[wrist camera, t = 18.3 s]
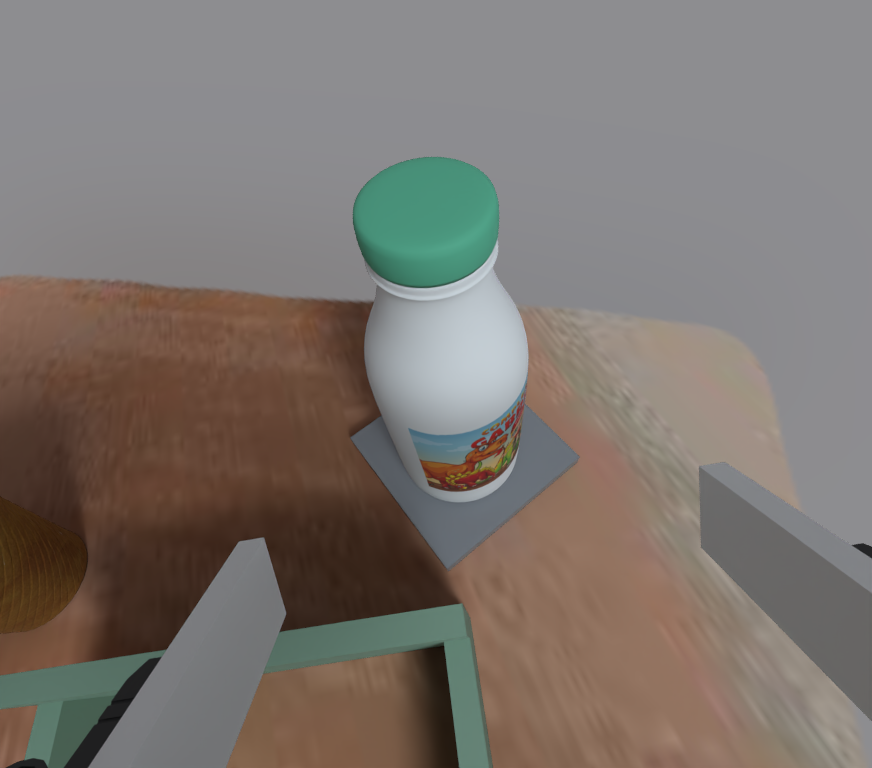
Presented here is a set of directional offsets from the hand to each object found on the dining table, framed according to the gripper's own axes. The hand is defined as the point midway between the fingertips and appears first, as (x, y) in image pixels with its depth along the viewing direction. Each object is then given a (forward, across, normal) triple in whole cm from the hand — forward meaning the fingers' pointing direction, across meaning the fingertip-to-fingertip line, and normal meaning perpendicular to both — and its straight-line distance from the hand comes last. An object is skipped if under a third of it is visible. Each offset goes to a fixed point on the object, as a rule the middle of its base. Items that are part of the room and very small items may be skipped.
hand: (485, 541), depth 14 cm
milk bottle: (+17, 0, -4) cm, 18 cm away
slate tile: (+18, 0, -5) cm, 18 cm away
